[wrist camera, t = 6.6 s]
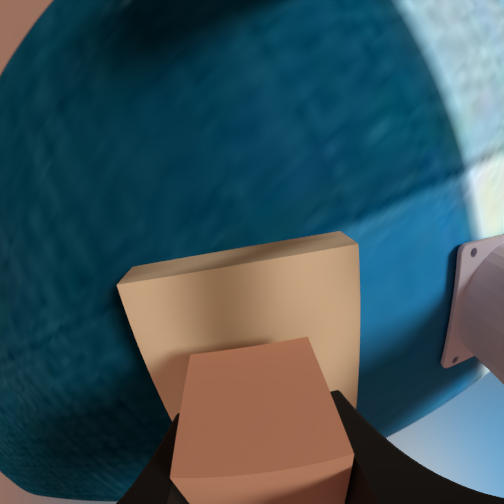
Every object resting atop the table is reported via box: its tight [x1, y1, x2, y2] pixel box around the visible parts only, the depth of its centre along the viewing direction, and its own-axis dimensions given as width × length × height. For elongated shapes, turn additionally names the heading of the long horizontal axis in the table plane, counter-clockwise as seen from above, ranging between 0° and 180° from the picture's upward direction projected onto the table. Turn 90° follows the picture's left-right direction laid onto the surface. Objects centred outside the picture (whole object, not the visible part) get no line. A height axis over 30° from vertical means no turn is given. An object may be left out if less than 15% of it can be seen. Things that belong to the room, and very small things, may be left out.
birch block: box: [117, 231, 360, 422], centre depth 13 cm, size 9×9×2 cm
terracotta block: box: [170, 337, 354, 504], centre depth 8 cm, size 4×4×5 cm
